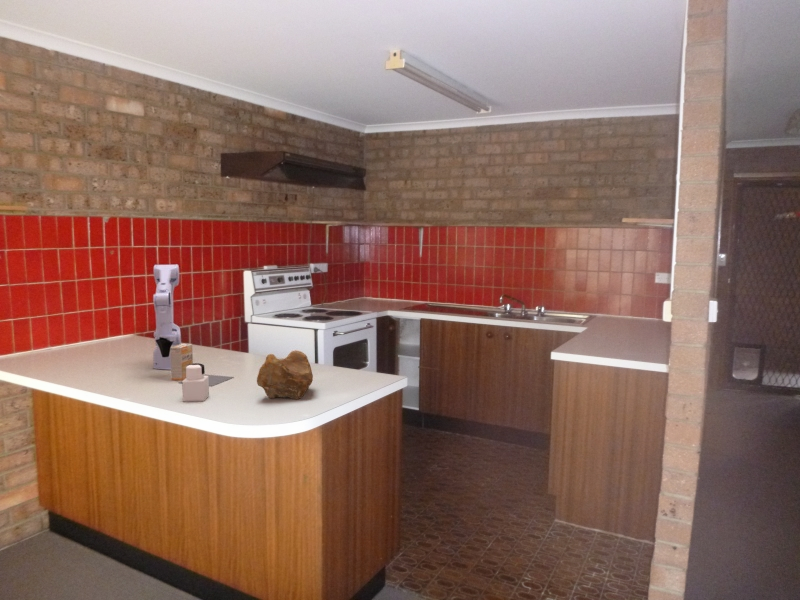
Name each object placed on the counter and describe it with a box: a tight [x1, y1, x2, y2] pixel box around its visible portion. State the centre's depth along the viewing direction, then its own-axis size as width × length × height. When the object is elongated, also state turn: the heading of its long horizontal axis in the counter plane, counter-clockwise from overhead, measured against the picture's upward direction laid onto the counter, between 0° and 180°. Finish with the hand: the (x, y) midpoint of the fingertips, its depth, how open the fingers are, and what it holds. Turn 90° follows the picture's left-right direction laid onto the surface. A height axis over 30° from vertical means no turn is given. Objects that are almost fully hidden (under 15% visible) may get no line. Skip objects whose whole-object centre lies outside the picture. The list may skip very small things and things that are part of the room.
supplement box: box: [170, 343, 194, 382], centre depth 228 cm, size 8×5×13 cm, turn 168°
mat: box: [178, 374, 235, 387], centre depth 225 cm, size 15×14×1 cm
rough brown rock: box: [256, 349, 314, 400], centre depth 204 cm, size 23×17×15 cm
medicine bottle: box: [181, 362, 210, 402], centre depth 200 cm, size 7×7×12 cm
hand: (165, 356), depth 230 cm, fingers closed
